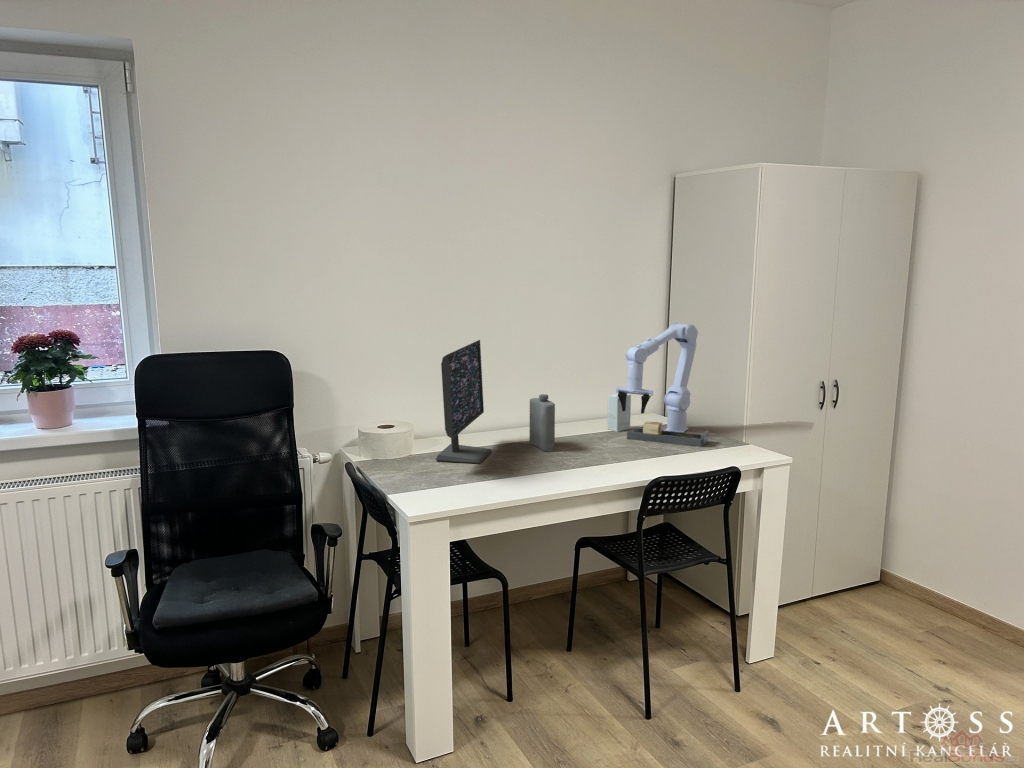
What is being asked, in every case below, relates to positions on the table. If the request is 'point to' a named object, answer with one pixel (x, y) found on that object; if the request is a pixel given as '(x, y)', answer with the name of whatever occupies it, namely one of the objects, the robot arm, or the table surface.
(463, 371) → the computer monitor
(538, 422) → the flask
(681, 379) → the robot arm
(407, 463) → the table surface
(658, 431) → the maple block
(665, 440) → the chute
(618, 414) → the skincare box
